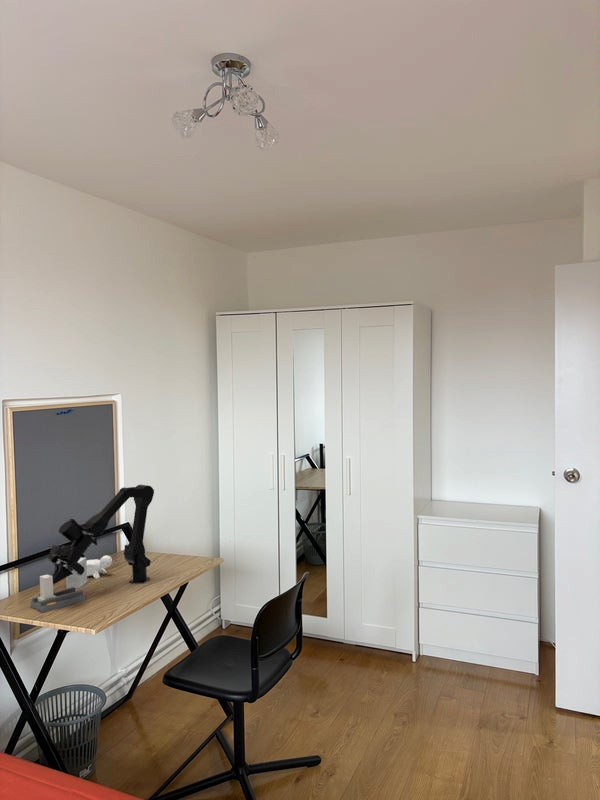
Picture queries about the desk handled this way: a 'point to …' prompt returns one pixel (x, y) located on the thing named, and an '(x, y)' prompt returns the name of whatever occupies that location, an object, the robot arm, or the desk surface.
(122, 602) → the desk surface
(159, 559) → the desk surface
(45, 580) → the switch tab
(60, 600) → the switch base
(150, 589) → the desk surface
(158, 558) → the desk surface
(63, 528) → the robot arm
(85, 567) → the small box
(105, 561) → the white toy figurine
